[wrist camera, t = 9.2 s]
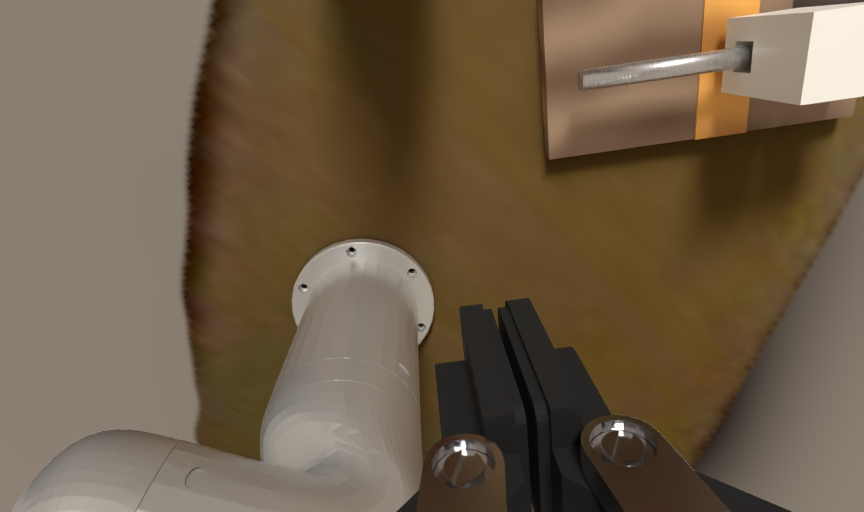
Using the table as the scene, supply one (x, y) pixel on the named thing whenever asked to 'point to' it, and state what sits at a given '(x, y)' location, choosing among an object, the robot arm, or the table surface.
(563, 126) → the board
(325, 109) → the table surface
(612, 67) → the metal rod
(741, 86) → the sleeve
